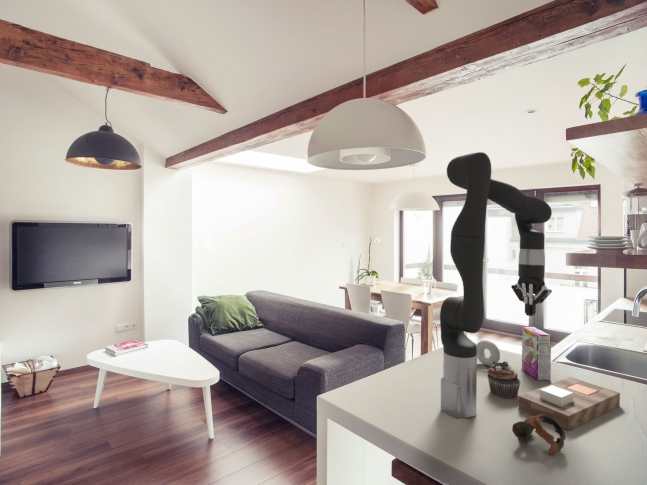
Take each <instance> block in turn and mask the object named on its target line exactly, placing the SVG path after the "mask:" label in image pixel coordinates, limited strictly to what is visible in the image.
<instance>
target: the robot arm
mask: <svg viewBox="0 0 647 485" xmlns="http://www.w3.org/2000/svg"><path fill="white" fill-rule="evenodd" d="M446 176H447V178H448V180H449V182H450V183H451V184H453V186H455V187H459V188H460V189H463V190H466V195H465V196H466V197H465V200H464V204H463V206H462V208H461V211H460V212H459V214H458V216H457V218H456V219H455V221H454V223H453V225H452V229H451V233H450V244H449V245H450V247H449V250H450V257H451V259H452V262H453V264H454V266H455V268H456V269H457V273H458V274H459V276H460V278H461V281H462V286H463V288H462V289H463V297H456V296H450V297H447V298H445V299H444V300H443V301H442V303H441V307H440V312H439V323H440V324H439V325H440V341H441V344H442V347H443V348H442V349H443V350H442V351H443V359H442V360H443V363H442V364H443V365H442V366H443V374H442V375H443V376H442V377H441V379H440V410H441V411H443V412H444V413H446V414H448V415H450V416H451V417H453V418H455V419H461V418H463V419H464V418H465V419H468V418H473V417H474V416H476V415H477V392H478V391H477V386H478V385H477V383H478V382H477V380H478V379H477V376H478V375H477V373H478V372H477V371H478V370H477V368H478V358H477V346H476V345H477V343H475V342H474V341H472V340H471V339H470V338H469V337H468V336H467V335H466V334H465V333H469V334H476V333H478V332H479V331H480V329H481V328H482V326H483V323H484V319H485V318H484V316H485V315H484V314H485V304H484V303H485V300H484V285H483V284H484V282H483V281H484V279H483V278H484V276H483V275H484V259H485V258H484V257H485V256H484V255H485V242H486V241H485V240H486V219H487V218H486V217H487V208H488V200H489V201H491V202H493V203H495V204H497V205H498V206H499V207H501V208H503V209H505V210H506V211H508V212H510V213H512V214H514V219H515V224H516V225H517V226H516V227H517V230H518V234H519V253H518V271H517V273H518V274H517V275H518V279H517V283H515V284H512V285H511V289H512V291H513V292H514V294H515V295H516V297H517V299H518V301H520V302H523V303H524V314H525V315H526V316H529V317H533V316H535V314H536V312H537V309H536V308H537V307H536V306H537V305H538V304H542V303H543V302H544V301H545V300H546V299H547V298H548V297H549V296H550V295H551V293H552V292H553V291H552V289H550V288H548V287H547V286H546V283H545V281H544V280H545V268H546V266H545V265H546V263H545V262H546V256H545V254H546V253H545V234H544V232H543V231H540V230H535V229H534V227H533V224H545V223H546V222H548V221H549V220H550V219H551V217H552V215H553V214H552V207H551V206H550V205H549V203H548V202H546V201H545V200H543V199H541V198H537V197H535V196H534V195H533V196H532V195H529V194H526V193H525V192H523V191H522V190H520V189H519V188H517V187H515V186H513V185H512V184H509V183H507V182H504V181H500V180H497V179H493V178H492V163H491V159H490V157H489V155H487V153H485V152H483V151H476V152H471V153H467V154H464V155H460V156H456V157H454V158H452V159H451V160H450V161H449V162H448V164H447V168H446Z"/></svg>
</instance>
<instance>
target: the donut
mask: <svg viewBox="0 0 647 485" xmlns="http://www.w3.org/2000/svg"><path fill="white" fill-rule="evenodd" d="M476 346H477V361H479V363H481V364H482V365H484V366H487V367H492V366H491V364H492V363H493V361H495V362H497V363H499V361H500V357H501V352H500V349H499V348H498V346H497V345H496V344H495V343H494V342H493V341H491V340H488V339H483V340H480V341H478V342H477V343H476ZM485 350H488V351H489V353H490V355H489V356H487V355H486V354H485Z"/></svg>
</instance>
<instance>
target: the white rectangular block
mask: <svg viewBox="0 0 647 485" xmlns="http://www.w3.org/2000/svg"><path fill="white" fill-rule="evenodd" d="M540 399H543V400H546V401H548V402H551V403H553V404H556V405H558V406H561V407H563V406H565V405H568V404H570V403H572V402H573V392H570V391H567V390H564V389H561V388H558V387H556V386H553V385H551V386H548V387H546V388H543V389H540Z"/></svg>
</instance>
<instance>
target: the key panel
mask: <svg viewBox="0 0 647 485" xmlns="http://www.w3.org/2000/svg"><path fill="white" fill-rule="evenodd" d="M575 384H579V385H582V386H585V387H588V388H591V389H595V390H598V392H596V393H594V394H591V395H589V396H588V395H585V394H582V393H579V392H576V391H573V390H570V389H567V387H569V386H572V385H575ZM551 385H553V386H556V387H558V388H561V389H564V390H567V391H570V392H573V402H572V403H570V404H568V405H565V406H563V407H561V406H558V405H556V404H553V403H551V402H548V401H546V400H543V399H540V389H543V388H546V387H548V386H551ZM620 395H621V392H618V391H614V390H612V389H609V388H606V387H603V386H599V385H598V384H597V385H596V384H593V383H590V382H587V381H584V380H580V379H577V378H574V377H571V376H569V377H567V378H564V379H561V380H559V381H556V382H553V383H550V384H547V385H545V386H544V385H543V386H542V387H539V388H536V389H533V390H531V391H528V392H525V393H523V394H519V395H518V410H520V411H523V412H525V413H527V414H529V415H532V416H536V415H538V414H543V415H547V416H549V417H551V418H553V419H554V420H555V421H556V422H558V424H560V426H561V427H562V428H563V430H564V431H565V430H566V431H571V430H573V429H575V428H577V427H579V426H581V425H583V424H586V423H588V422H589V421H591V420H594V419H596V418H599V417H600V416H603V415H604V414H606V413H608V412H610V411H612V410H614V409H616V408H618V407H620V404H621V403H620V401H621V396H620Z"/></svg>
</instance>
